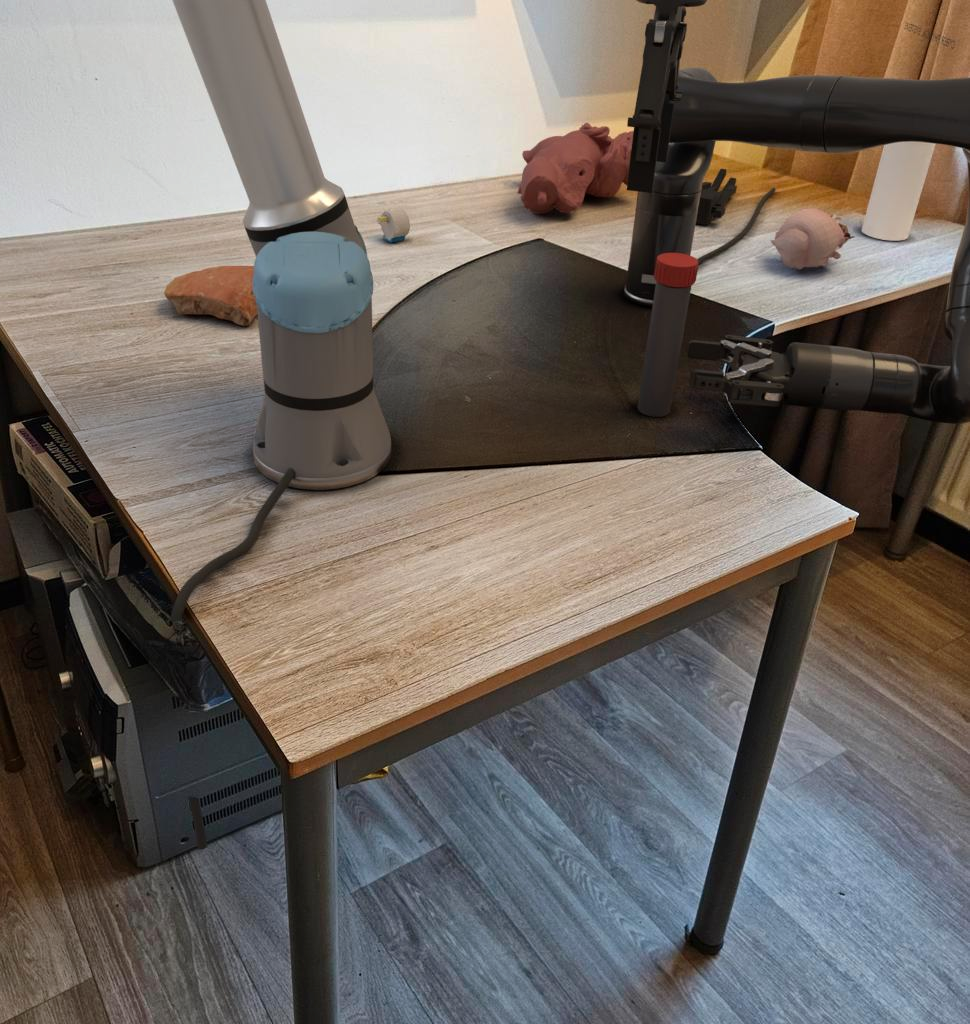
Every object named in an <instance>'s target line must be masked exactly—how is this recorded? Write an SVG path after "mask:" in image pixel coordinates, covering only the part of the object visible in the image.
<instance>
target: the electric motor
mask: <svg viewBox="0 0 970 1024" xmlns="http://www.w3.org/2000/svg"><path fill="white" fill-rule="evenodd" d="M376 222H377V224H378V225H380V227H381V231H382V233H383V238H384V240H385V241H388V242H389V243H394V242H395V243H396V242H399V241H404V240H405V238H406V236H407V235H409V233H410V229H411V222H410V218H409V216H408V213H407V212H406V210H404V209H403V208H397V209H392V210H387V211H384V212H383V213H382V214H381V216H378V217H377V218H376Z"/></svg>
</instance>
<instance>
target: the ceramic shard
mask: <svg viewBox="0 0 970 1024" xmlns="http://www.w3.org/2000/svg"><path fill="white" fill-rule="evenodd" d="M253 275H254V265H219V266H214V267H207V268H203V269H201V270H196V271H191V272H187V273H185V274H182V275H180V276H177V277H174V278H173V279H172V280H171V281H170V282H169V283H168V284H167V285H166V287H165V289H164V292H163V294H164V297H165V298H166V299H167V301H169V302H170V303H171V304H172V305H173V307H174V309H175V310H176V312H177V313H178V314H179V315H211V316H214V317H216V318H218V319H220V320H227V321H231V322H233V323H235V324H236V325H239V326H243V327H245V326H249V325H250V324H251V323H252V321H253V320H254V319H255V317H256V316H257V304H256V299H255V296H254V293H253V286H252V282H253Z"/></svg>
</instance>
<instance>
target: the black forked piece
mask: <svg viewBox="0 0 970 1024" xmlns="http://www.w3.org/2000/svg"><path fill="white" fill-rule="evenodd" d="M727 171H728V170H727V169H726V168H720V169H719V171H718V173H717V175H716V177H715V178H714V180H713V182H710V181H703V184H702V189H701V195H700V201H699V207H698V213H697V219H696V224H699V225H706V226H707V225H709V223H711V221H712V220H713V218H716V219H722V217H723V216H724V215H725V212H726V204H727V203H728V201H729V199H730V198H731V197H732V196H734V195H735V194H736V193H737V188H738V185H736V182H737V177H732V176H731V177H730V178H729V179H728V180H727V182H726V183H725V185H724V187H723V188H722V190H719V189H720V188H721V186H722V184H723V181H724V180H725V178H726V176H727Z"/></svg>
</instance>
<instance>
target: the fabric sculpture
mask: <svg viewBox="0 0 970 1024" xmlns="http://www.w3.org/2000/svg"><path fill="white" fill-rule="evenodd" d="M610 130H611V129H610V127H608V126H607V125H605V126H604V125H602V126H600V127H598V126H592V125H591V124H590V123H589V122H585V123H584V124H581V126H580V127H579V129H576V130H573V131H570V132H568V133H566V134H565V135H554V136H549V137H546V138H544V139H542V140H540V141H539V142H538V143H536V145H535V146H534V147H532V148H531V149H529V150H523V151H522V153H521V156H522V158H523V160H524V162H525V163H526V164H525V166H524V168H523V170H522V172H521V173H522V174H521V180H520V181H521V182H520V185H519V186H518V189H517V194H518V195H520V200H521V202H522V203H523V207H524V209H525V210H529V211H530V212H532V213H535V214H546V213H549V212H551V211H552V210H553V209H554V208H555V209H556V210H557V211H559V212H560V213H564V214H569V213H573V212H575V211H578V209H579V208H581V206H582V203H584V199H585V195H591V196H593V197H596V198H599V197H604V198H606V197H608V198H610V197H613V196H614V195H617V194H618V192H619V191H620V189H621V186H622V184H624V185H625V186H627V182H628V174H629V165H630V157H631V148H632V140H633V132H634V130H631V131H628V132H627V131H624V132H621V133H618V135H617V136H615V137H614V138H612V137H611V136H610V135H609V134H610Z"/></svg>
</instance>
